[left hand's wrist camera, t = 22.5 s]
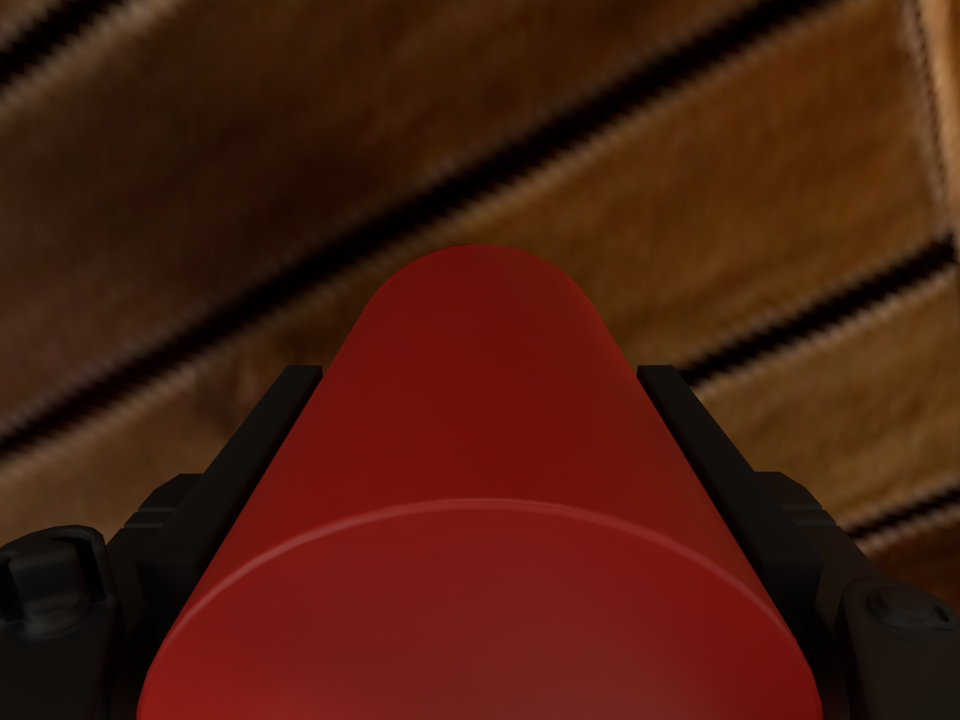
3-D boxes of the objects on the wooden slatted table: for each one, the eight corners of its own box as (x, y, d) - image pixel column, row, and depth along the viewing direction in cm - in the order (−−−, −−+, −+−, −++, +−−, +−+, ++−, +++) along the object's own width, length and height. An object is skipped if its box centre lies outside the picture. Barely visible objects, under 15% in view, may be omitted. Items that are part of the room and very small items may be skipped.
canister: (512, 522, 19) (554, 1049, 8) (304, 404, 17) (27, 856, 7) (662, 338, 16) (983, 725, 6) (439, 187, 15) (350, 344, 5)
